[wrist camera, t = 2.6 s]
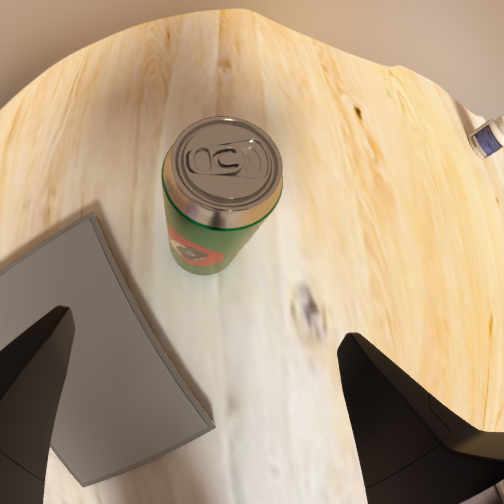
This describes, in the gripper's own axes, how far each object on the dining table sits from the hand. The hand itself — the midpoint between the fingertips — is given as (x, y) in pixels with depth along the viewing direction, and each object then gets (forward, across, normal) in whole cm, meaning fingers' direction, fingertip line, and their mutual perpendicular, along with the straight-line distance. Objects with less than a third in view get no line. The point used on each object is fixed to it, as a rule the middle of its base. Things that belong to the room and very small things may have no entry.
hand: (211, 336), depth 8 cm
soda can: (+13, 0, +4) cm, 14 cm away
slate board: (+6, +9, +11) cm, 16 cm away
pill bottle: (+31, -44, -13) cm, 55 cm away
